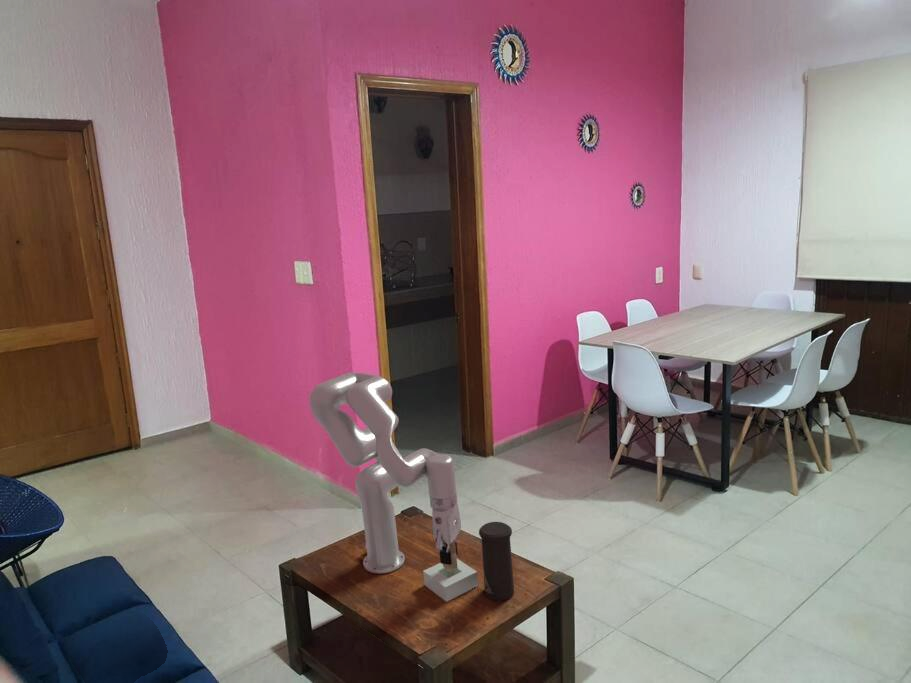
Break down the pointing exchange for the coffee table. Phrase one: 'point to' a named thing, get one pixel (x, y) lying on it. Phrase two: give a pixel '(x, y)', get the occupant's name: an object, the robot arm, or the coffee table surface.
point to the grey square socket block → (450, 580)
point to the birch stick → (453, 557)
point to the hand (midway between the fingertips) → (449, 558)
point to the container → (497, 560)
